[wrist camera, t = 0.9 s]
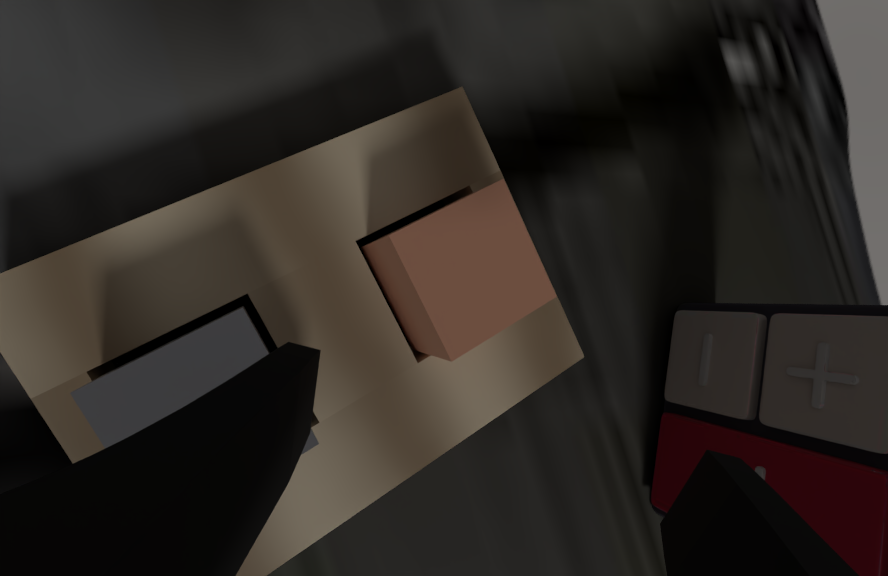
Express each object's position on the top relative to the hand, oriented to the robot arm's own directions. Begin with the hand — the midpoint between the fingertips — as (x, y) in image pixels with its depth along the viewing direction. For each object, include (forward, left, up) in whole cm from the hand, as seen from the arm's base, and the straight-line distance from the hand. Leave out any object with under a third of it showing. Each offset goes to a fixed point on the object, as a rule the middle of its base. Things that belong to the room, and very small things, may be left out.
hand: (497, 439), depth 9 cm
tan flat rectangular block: (-1, +2, -12) cm, 13 cm away
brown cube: (+4, +2, -10) cm, 11 cm away
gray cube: (-5, +2, -10) cm, 12 cm away
